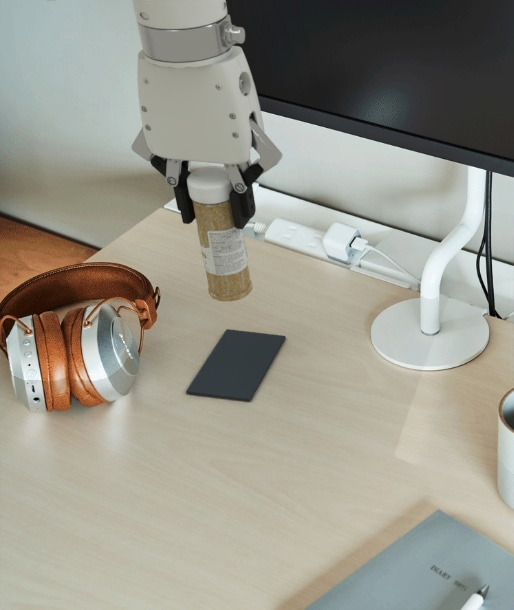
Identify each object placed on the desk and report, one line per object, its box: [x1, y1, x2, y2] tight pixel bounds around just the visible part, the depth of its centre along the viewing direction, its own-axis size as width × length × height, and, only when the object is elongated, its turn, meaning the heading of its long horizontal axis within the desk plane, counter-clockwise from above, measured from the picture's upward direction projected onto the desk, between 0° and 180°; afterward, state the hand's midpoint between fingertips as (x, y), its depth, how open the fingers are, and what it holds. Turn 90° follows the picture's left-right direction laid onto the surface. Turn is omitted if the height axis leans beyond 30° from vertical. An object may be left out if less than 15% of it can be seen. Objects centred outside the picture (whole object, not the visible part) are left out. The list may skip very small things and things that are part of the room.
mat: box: [185, 328, 286, 403], centre depth 100 cm, size 7×11×1 cm, turn 170°
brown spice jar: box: [187, 165, 254, 303], centre depth 91 cm, size 5×5×14 cm
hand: (218, 217), depth 90 cm, fingers closed on brown spice jar, 4 cm apart
